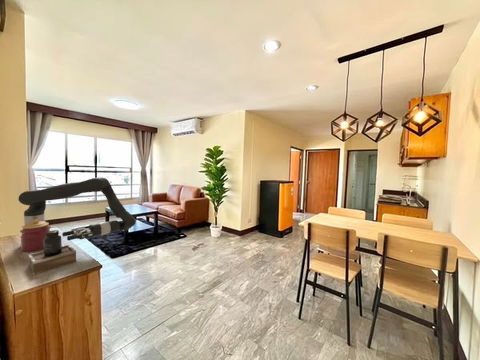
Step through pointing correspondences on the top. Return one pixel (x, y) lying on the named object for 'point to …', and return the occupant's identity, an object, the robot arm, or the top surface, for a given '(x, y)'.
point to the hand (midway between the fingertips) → (64, 236)
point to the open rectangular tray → (51, 260)
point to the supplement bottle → (52, 243)
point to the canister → (34, 235)
